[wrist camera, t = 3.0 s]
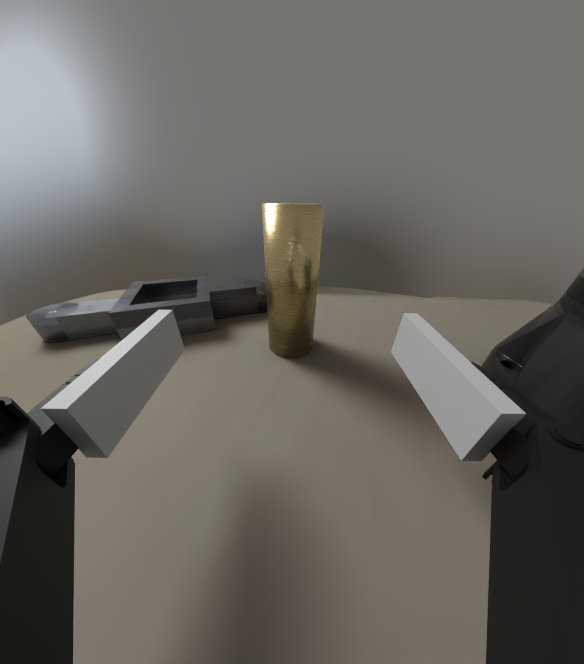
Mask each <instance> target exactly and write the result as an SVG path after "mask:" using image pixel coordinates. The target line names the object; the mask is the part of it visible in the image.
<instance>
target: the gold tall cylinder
mask: <svg viewBox="0 0 584 664" xmlns="http://www.w3.org/2000/svg"><path fill="white" fill-rule="evenodd" d="M323 212H324V204H309V203H262V214H263V233H264V252H265V272H266V291H267V310H268V330H269V347H270V349H271V351H272V352H273V353H274V354H276V355H278V356H280V357H284V358H298V357H302V356H304V355H306V354H308V353H309V352H310V351H311V349H312V345H313V333H314V321H315V309H316V297H317V285H318V272H319V261H320V248H321V237H322V224H323Z"/></svg>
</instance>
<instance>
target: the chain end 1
mask: <svg viewBox="0 0 584 664" xmlns="http://www.w3.org/2000/svg"><path fill="white" fill-rule="evenodd" d="M189 298H197V293H191V294H181V295H172V296H162V297H153V298H148V299H147V301H146V302H145V303H153V302H162V301H171V300H180V299H189ZM119 299H120V298H112V299H102V300H92V301H83V302H73V303H72V302H69V303H59V304H54V305H49V306H45V307H42V308H39V309H37V310H34V311H32V312H30V313H29V314H28V315H27V316H26V318H27V319H28V320H29V322H30V323H31V324H32V326H33V327H34V328H35V330H36V331H37V332H38V334H39V335H40V336H41V338H42V339H43V341H45V342H48V343H57V342H63V341H68V340H73V339H80V338H87V337H94V336H101V335H108V334H115V333H118V334H119V336H120V338H121V340H123V339H124V338H125V337H127V336H128V335H129V334H130V333H131V332H133V331H134V330H135V329H136V328H137V327H131V328H123V329H116V328H115V326H114V324H113V322H112V320H111V318H110V316H109V314H108V313H109V311H110V310H111V309H112V308H113V306H114V305H115V304H116V303H117V301H118V300H119ZM212 309H213V308H212ZM176 323H177V326H178V329H179V332H180V335H187V334H193V333H200V332H206V331H212V330H216V325H215V317H214V312H213V316H210V317H203V318H195V319H188V320H181V321H176ZM138 327H139V326H138Z"/></svg>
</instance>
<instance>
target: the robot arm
mask: <svg viewBox="0 0 584 664" xmlns="http://www.w3.org/2000/svg"><path fill="white" fill-rule="evenodd" d="M184 349H185V348H184V345H183V342H182V339H181V335H180V332H179V329H178V326H177V323H176V320H175V316H174V313H173V310H158V311H157V312H155V313H154V314H153V315H152V316H151V317H149V318H148V319H147V320H146V321H145V322H143V323H142V324H141V325H140V326H139V327H137V328H136V329H135V330H134V331H133V332H131V333H130V334H129V335H128V336H127V337H125V338H124V339H123V340H122V341H121V342H119V343H118V344H117V345H116V346H115V347H113V348H112V349H111V350H110V351H109V352H108V353H106V354H105V355H104V356H103V357H102V358H99V359H97V360H95V361H93V362H91V363H90V364H88V365H86V366H85V367H83V368H82V369H81V370H80V371H79V372H77V373H76V374H75V376H72V377H71V378H70V379H69V380H67V381H66V383H65V384H63V385H61V386H60V387H59V388H58V389H56V390H55V391H54V392H53V393H51V394H50V395H49V396H48V397H47V398H45V399H44V400H43V401H42V402H40V403H39V404H38V405H37V406H35V407H34V408H33V409H32V410H31V411H29V412H28V413H27V414H26V413H25V412H24V411H23V410H22V409H21V408H20V407H19V406H18V405H17V404H16V403H15V402H14V401H13V400H12V399H11V398H8V397H0V664H73V598H74V504H75V463H74V460H73V459H72V458H71V456H72V455H73V454H74V453H75V452H76V451H77V449H79V450H80V451H81V452H82V453H83V454H84V455H85V456H86V457H94V458H108V457H109V455H110V454H111V452H112V451H113V449H114V448H115V447H116V445H117V444H118V442H119V441H120V440H121V438H122V437H123V435H124V434H125V433H126V431H127V430H128V428H129V427H130V426H131V424H132V423H133V421H134V420H135V418H136V417H137V416H138V414H139V413H140V411H141V410H142V409H143V407H144V406H145V404H146V403H147V402H148V400H149V399H150V397H151V396H152V395H153V393H154V392H155V390H156V389H157V388H158V386H159V385H160V383H161V382H162V380H163V379H164V378H165V376H166V375H167V373H168V372H169V371H170V369H171V368H172V366H173V365H174V364H175V362H176V361H177V359H178V358H179V357H180V355H181V354H182V352H183V351H184ZM391 353H392V354H393V356H394V357H395V359H396V360H397V362H398V363H399V365H400V366H401V368H402V370H403V371H404V373H405V374H406V376H407V377H408V379H409V380H410V382H411V383H412V385H413V387H414V388H415V390H416V391H417V393H418V394H419V396H420V397H421V399H422V401H423V402H424V404H425V405H426V407H427V408H428V410H429V411H430V413H431V414H432V416H433V418H434V419H435V421H436V422H437V424H438V425H439V427H440V428H441V430H442V431H443V433H444V435H445V436H446V438H447V439H448V441H449V442H450V444H451V445H452V447H453V449H454V450H455V452H456V453H457V455H458V456H459V458H460V459H461V461H482V460H483V459H484V458H485V457H486V456H487V455H488V454H489V453H490V452H491V453H492V454H493V455H494V457H495V458H496V459H497V461H496V462H495V463H494V464H493V465H492V466H491V467H490V468H489V469H488V470H487V471H486V472H485V473H484V474H483V477H482V478H484V479H487V478H488V477H489V476H490V475H492V482H491V483H492V504H491V533H490V562H489V591H488V620H487V649H486V664H584V268H583V270H582V271H581V272H580V274H579V275H578V276H577V278H576V279H575V280H574V282H573V283H572V284H571V286H570V287H569V288H568V289H567V291H566V292H565V293H564V295H563V296H562V297H561V298H560V300H558V301H557V302H556V303H555V304H554V305H553V306H551V307H550V308H548V309H547V310H546V311H544V312H543V313H541V314H540V315H539V316H537V317H536V318H534V319H533V320H531V321H530V322H529V323H527V324H526V325H524V326H523V327H522V328H520V329H519V330H517V331H516V332H515V333H513V334H512V335H510V336H509V337H507V338H506V339H505V340H503V341H502V342H500V343H499V344H498V345H497V346H495V348H494V349H493V350H492V351H491V352H490V354H489V356H488V357H487V359H486V360H485V362H484V363H483V365H482V367H480V366H479V365H477V364H475V363H473V362H470V361H468V360H467V359H466V358H465V357H464V356H463V355H462V354H461V353H460V352H459V351H458V350H456V349H455V348H454V347H453V346H452V345H451V344H450V343H449V342H448V341H447V340H446V339H444V338H443V337H442V336H441V335H440V334H439V333H438V332H437V331H436V330H435V329H434V328H433V327H431V326H430V325H429V324H428V323H427V322H426V321H425V320H424V319H423V318H422V317H421V316H419V315H418V314H412V313H404V315H403V318H402V321H401V324H400V327H399V330H398V333H397V336H396V339H395V342H394V345H393V348H392V351H391Z"/></svg>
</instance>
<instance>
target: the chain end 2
mask: <svg viewBox="0 0 584 664" xmlns="http://www.w3.org/2000/svg"><path fill="white" fill-rule="evenodd" d="M191 293H197V298H189V299H180V300H171V301H162V302H153V303H145V302H146V301H147V299H148V298H153V297H162V296H172V295H181V294H191ZM212 308H213V309H212ZM158 310H173V313H174V316H175V320H176V321H181V320H188V319H195V318H203V317H210V316H213V312H214V317H215V319H219V318H226V317H233V316H240V315H247V314H254V313H265V312H268V310H267V291H266V277H253V278H245V279H235V280H223V281H213V282H209V279H208V276H198V277H187V278H175V279H163V280H151V281H141V282H140V281H139V282H133V283H132V284H131V285H130V286H129V288H128V289H127V290H126V291H125V293H124V294H123V295H122V296H121V298H120V299H119V300H118V301H117V303H116V304H115V305H114V306H113V308H112V309H111V310H110V311H109V313H108V314H109V316H110V318H111V320H112V322H113V324H114V326H115V328H116V329H123V328H131V327H138V326H140V325H141V324H142V323H143V322H145V321H146V320H147V319H148V318H149V317H151V316H152V315H153V314H154V313H155V312H157V311H158Z"/></svg>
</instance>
